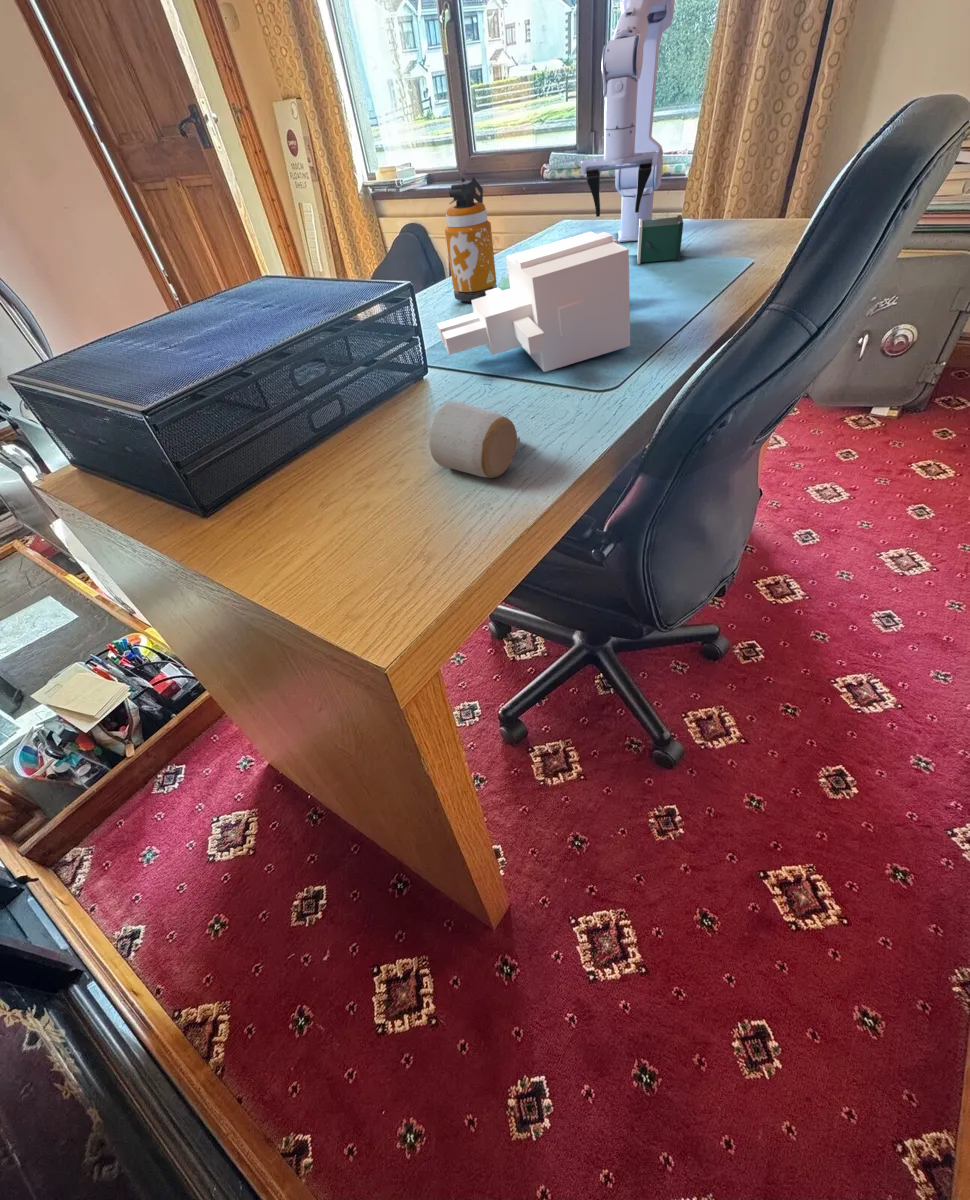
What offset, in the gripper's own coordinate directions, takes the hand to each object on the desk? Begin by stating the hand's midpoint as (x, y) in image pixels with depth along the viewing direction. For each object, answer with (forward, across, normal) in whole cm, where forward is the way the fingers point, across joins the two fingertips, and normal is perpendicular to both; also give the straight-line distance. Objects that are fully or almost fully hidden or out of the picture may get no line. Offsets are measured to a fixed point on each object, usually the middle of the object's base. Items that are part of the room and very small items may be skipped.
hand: (617, 213), depth 115 cm
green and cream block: (+10, +9, +4) cm, 14 cm away
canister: (+10, -28, -13) cm, 32 cm away
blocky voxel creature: (+10, -12, -47) cm, 50 cm away
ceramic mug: (+10, -14, -80) cm, 82 cm away
